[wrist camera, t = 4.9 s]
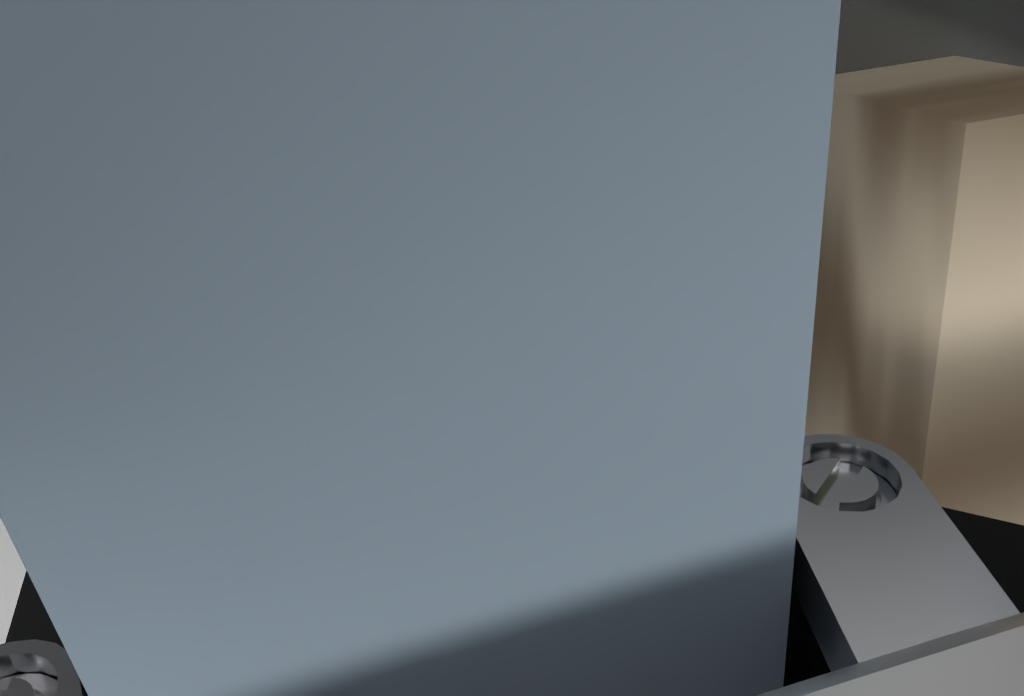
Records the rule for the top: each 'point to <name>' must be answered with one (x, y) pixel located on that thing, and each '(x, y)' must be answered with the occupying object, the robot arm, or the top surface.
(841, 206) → the beige rectangular block
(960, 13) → the top surface
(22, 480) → the light blue rectangular block
